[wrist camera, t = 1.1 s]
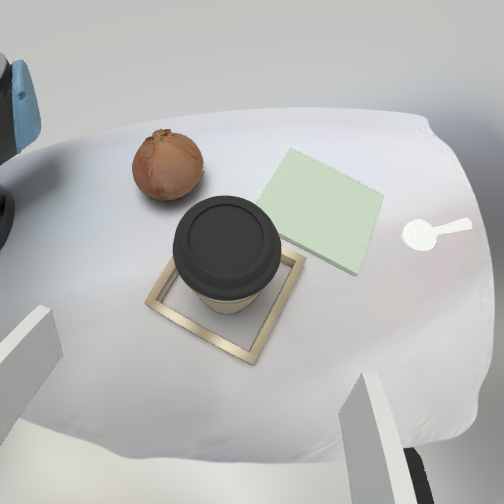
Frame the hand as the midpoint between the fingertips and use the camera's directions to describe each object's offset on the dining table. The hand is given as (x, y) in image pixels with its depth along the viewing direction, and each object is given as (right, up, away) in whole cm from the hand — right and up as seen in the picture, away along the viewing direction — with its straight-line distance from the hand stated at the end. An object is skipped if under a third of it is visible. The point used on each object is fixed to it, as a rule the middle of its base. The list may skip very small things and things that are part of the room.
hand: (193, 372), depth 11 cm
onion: (-9, +14, +31) cm, 35 cm away
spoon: (+33, +8, +32) cm, 47 cm away
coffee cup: (-1, +1, +26) cm, 26 cm away
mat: (+12, +11, +31) cm, 35 cm away
